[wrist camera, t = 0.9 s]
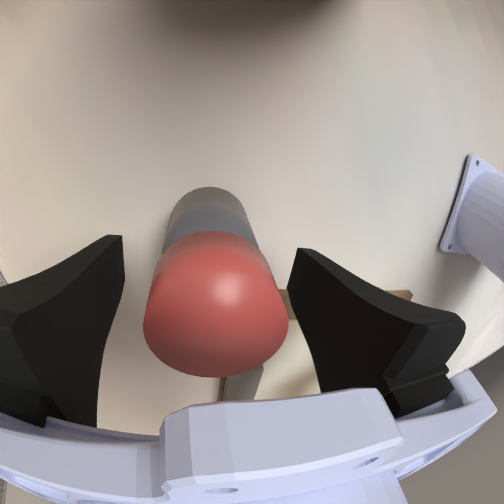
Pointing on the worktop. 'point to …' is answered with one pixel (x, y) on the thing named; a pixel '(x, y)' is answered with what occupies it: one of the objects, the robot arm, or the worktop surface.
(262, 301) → the marker
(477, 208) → the robot arm
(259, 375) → the clipboard
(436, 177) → the worktop surface
